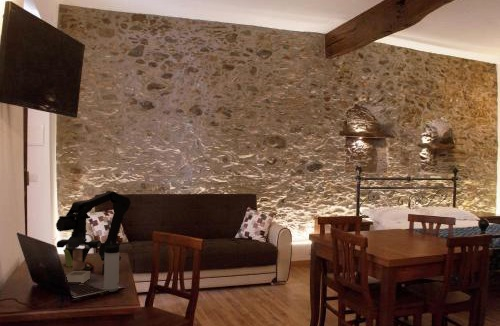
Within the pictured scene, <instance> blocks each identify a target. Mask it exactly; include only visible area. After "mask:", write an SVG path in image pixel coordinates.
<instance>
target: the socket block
mask: <svg viewBox="0 0 500 326" xmlns="http://www.w3.org/2000/svg"><path fill="white" fill-rule="evenodd" d="M66 277H67V280H68V282H81V283H84V282H85V281H87V280H88V279H90V278H91V270H72V271H70V272H69V273H67V274H66V275H65V278H66ZM90 280H91V279H90ZM87 282H88V281H87Z"/></svg>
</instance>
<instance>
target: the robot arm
mask: <svg viewBox="0 0 500 326" xmlns="http://www.w3.org/2000/svg"><path fill="white" fill-rule="evenodd" d="M107 202H110V203H112V209H113V210H112V211H113V214H112V218H111V222H110V226H109V228H108V229H109V230H108V231H107V235H106V239H105V241H104V242H102V241H101V240H100V239H92V240H90V241H88V238H87V232H88V230H87V219H91V216H90V215H89V214H88V213H89V212H91V211H92V210H93V208H95V207H99V206H100V205H103V204H105V203H107ZM131 203H132V201H131V199H130V197H128V196H123V195H121V194H119V193H117V192H116V191H113V190H112V191H111V190H106V191H105V192H104V193H101V194H99V195H96V196H95V197H91V198H89V199H84V200H83V199H82V200H78V201H74V202H73V203H72V204H71V207H70V208H69V210H68V212H67V213H66V215H60V216H59V217H58V218H59V219H57V220H56V223H55V227H56V230H57V232H66V231H67V232H68V231H71V236H70V237H69V238H68V239H64V238H63V239H60V240H58V241H57V243H56V248H64V249H67V250H68V251H69V252H70V255H71V257H72V260H73V250H74V249H76V248H80V246H82V247H83V248H82V249H83V262H84V261H85V262H86V259H87V256H88V254H89V252H90V250H91V249H98V255H99V258H100V260H101V261H102V262H104V255H105V246H107V245H110V244H117V240H118V237H119V233H120V229H121V225H122V222H123V218H124V215H125V214H126V213H127V212H128V211H129V208H130V206H131ZM121 258H122V257H121V255H119V262H121ZM101 268H102V273H101V274H102V275H103V276H104V263H103V264H102V267H101Z"/></svg>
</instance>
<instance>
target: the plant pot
mask: <svg viewBox="0 0 500 326" xmlns="http://www.w3.org/2000/svg"><path fill="white" fill-rule="evenodd" d="M63 253H64V257H65V266H66V267H67V266H68V267H69V268H71V267H72V268H73V260H72V257H71V255H70V252H69V251H68V250H67V249H65V248H64V249H63Z"/></svg>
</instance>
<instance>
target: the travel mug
mask: <svg viewBox="0 0 500 326" xmlns="http://www.w3.org/2000/svg"><path fill="white" fill-rule="evenodd" d="M120 246H121V244H120V243H117V242H116V244H110V245H107V246H105V255H104V261H103V264H104V275H103V291H104V290H106V291H109V292H111V293H112V292H116V291H118V290H119V283H120V282H119V279H120V278H119V277H120V261H119V256H120ZM106 291H105V292H106ZM109 292H108V293H109Z"/></svg>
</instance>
